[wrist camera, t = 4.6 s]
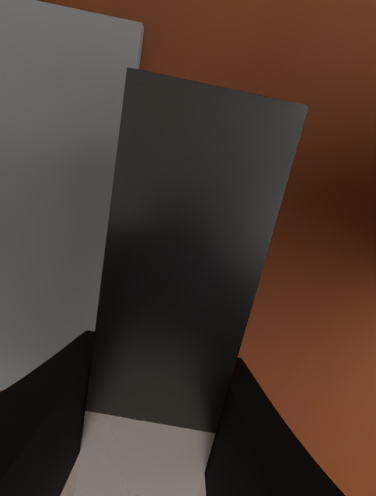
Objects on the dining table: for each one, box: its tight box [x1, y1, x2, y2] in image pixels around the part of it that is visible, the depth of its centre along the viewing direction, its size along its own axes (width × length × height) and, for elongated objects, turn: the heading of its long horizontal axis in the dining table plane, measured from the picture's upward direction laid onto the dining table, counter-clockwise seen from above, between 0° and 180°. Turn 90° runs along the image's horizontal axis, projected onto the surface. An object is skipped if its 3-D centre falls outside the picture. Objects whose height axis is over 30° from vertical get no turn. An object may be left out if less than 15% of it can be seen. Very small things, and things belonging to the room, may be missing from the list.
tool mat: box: [0, 0, 144, 390], centre depth 15 cm, size 8×18×1 cm, turn 169°
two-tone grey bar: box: [75, 67, 309, 496], centre depth 9 cm, size 3×14×4 cm, turn 169°
